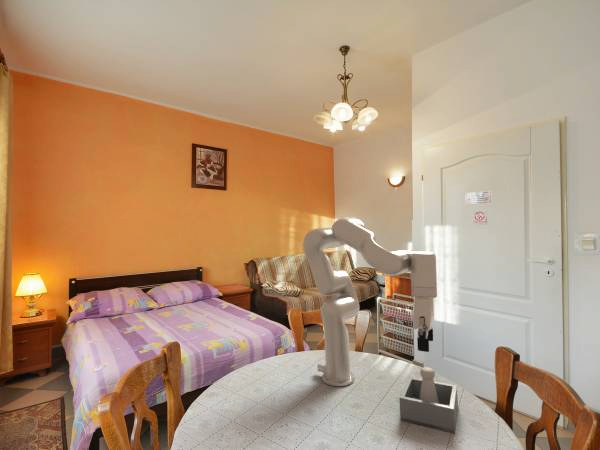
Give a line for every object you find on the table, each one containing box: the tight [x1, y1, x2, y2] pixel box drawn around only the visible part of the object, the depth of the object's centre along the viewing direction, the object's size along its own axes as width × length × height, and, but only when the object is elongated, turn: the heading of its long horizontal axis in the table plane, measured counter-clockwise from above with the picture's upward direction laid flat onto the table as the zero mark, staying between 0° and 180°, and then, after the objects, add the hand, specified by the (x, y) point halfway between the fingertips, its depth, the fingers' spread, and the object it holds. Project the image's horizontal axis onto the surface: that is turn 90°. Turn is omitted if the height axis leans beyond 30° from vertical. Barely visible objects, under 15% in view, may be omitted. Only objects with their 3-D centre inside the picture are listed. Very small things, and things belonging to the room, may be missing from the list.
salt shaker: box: [419, 366, 439, 404], centre depth 102 cm, size 6×6×13 cm
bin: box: [399, 376, 459, 435], centre depth 102 cm, size 15×15×7 cm
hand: (425, 345), depth 102 cm, fingers open, 9 cm apart
